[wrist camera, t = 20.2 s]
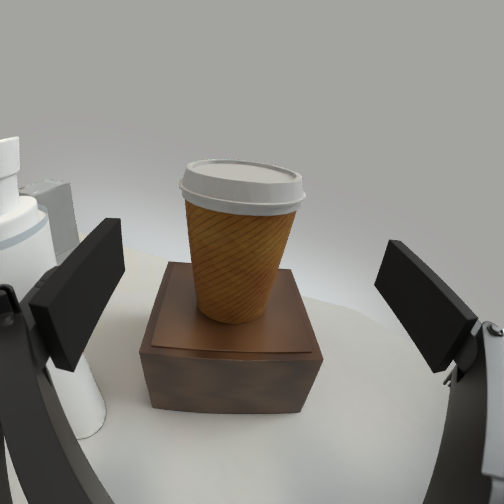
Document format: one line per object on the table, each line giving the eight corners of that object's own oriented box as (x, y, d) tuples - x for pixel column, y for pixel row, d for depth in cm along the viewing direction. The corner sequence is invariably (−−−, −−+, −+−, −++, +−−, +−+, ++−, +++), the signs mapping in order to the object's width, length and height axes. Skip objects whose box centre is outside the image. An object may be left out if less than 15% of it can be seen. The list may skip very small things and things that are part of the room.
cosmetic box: (90, 285, 38) (77, 181, 31) (54, 306, 32) (30, 194, 25) (65, 267, 41) (53, 174, 34) (32, 283, 35) (13, 186, 28)
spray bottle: (97, 378, 24) (49, 106, 13) (115, 431, 19) (36, 100, 8) (42, 390, 20) (-35, 125, 9) (52, 445, 15) (-76, 133, 4)
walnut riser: (279, 321, 37) (291, 268, 33) (300, 412, 24) (324, 358, 20) (171, 316, 35) (168, 260, 31) (152, 407, 22) (138, 351, 19)
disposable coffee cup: (274, 277, 31) (293, 165, 25) (291, 339, 22) (326, 192, 17) (185, 271, 30) (188, 155, 24) (171, 334, 21) (167, 178, 16)
